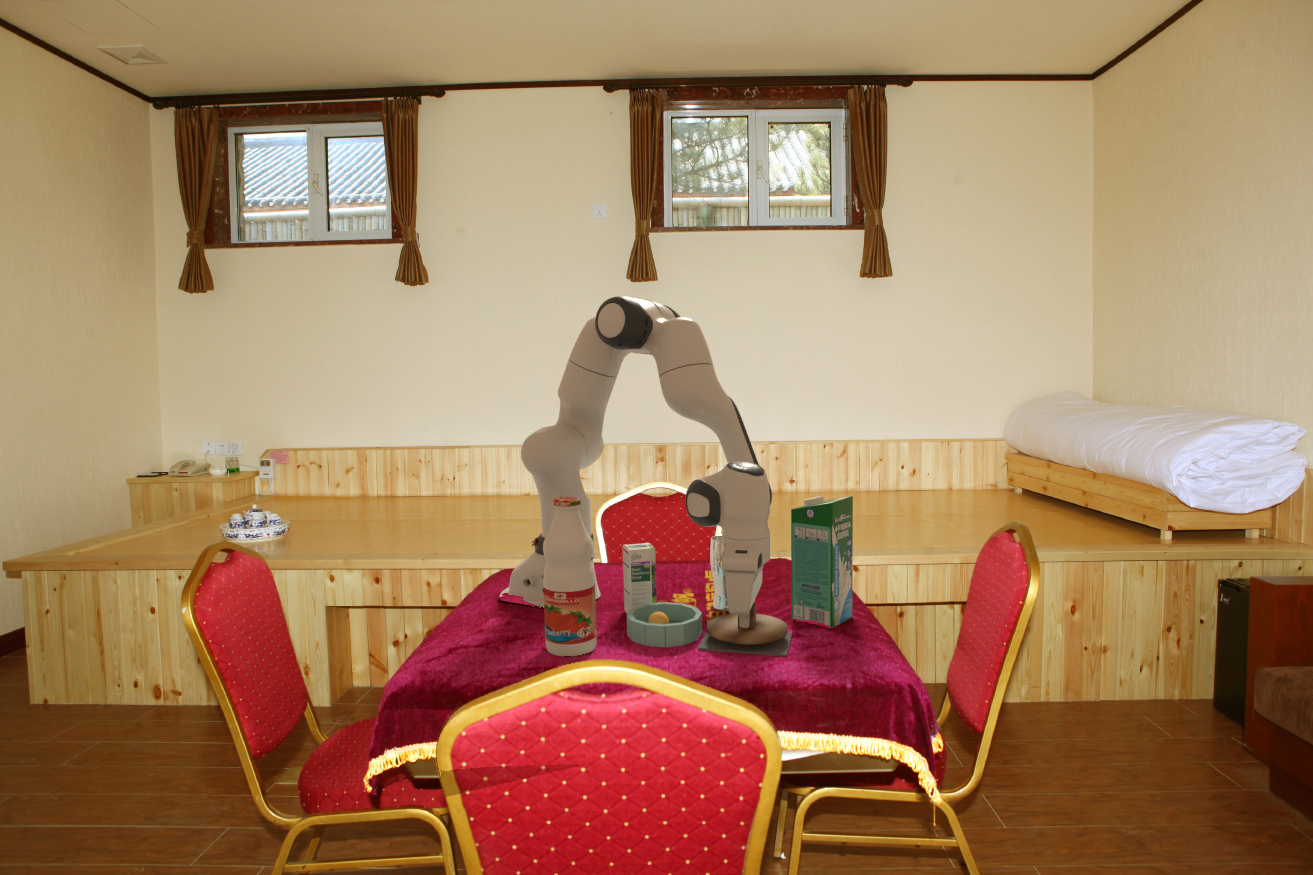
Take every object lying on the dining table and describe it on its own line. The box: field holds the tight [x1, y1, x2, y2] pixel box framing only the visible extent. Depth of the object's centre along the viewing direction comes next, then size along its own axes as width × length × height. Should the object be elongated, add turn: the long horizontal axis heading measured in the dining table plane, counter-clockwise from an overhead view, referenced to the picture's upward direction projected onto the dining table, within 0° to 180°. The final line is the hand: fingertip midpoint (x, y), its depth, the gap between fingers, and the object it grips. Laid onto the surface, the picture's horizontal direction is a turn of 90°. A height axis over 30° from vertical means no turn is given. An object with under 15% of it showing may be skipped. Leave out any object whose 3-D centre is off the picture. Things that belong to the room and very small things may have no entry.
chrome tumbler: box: [709, 534, 729, 612], centre depth 168 cm, size 7×7×15 cm
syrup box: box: [622, 542, 658, 615], centre depth 164 cm, size 6×6×14 cm
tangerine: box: [648, 612, 669, 624], centre depth 151 cm, size 4×4×4 cm
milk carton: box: [790, 495, 854, 628], centre depth 158 cm, size 9×9×25 cm
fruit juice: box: [543, 496, 598, 657], centre depth 144 cm, size 9×9×28 cm
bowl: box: [626, 601, 703, 648], centre depth 152 cm, size 14×14×4 cm
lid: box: [706, 602, 789, 644], centre depth 148 cm, size 15×15×5 cm
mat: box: [697, 631, 793, 658], centre depth 148 cm, size 16×13×1 cm
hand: (746, 622), depth 148 cm, fingers closed on lid, 3 cm apart
